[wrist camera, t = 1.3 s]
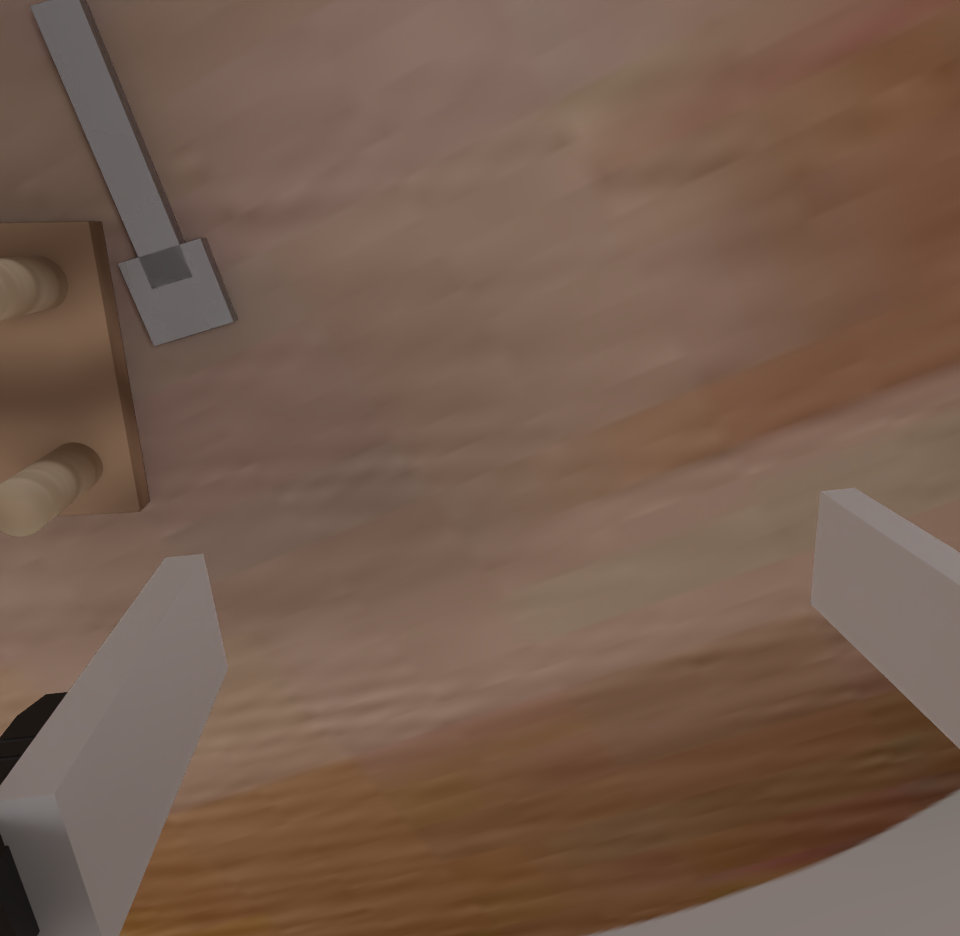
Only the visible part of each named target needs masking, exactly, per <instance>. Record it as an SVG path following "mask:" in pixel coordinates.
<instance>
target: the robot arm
mask: <svg viewBox="0 0 960 936" xmlns="http://www.w3.org/2000/svg"><path fill="white" fill-rule="evenodd" d="M810 604H811V605H812V606H813V607H814V608H815V609H816V610H817V611H818V612H819V613H821V614H822V615H823V616H824V617H825V618H826V619H827V620H828V621H829V622H830V623H831V624H832V625H833V626H834V627H835V628H836V629H837V630H838V631H839V632H840V633H841V634H842V635H843V636H844V637H845V638H846V639H847V640H848V641H849V642H850V643H851V644H852V645H853V646H854V647H855V648H856V649H858V650H859V651H860V652H861V653H862V654H863V655H864V656H865V657H866V658H867V659H868V660H869V661H870V662H871V663H872V664H873V665H874V666H875V667H876V668H877V669H878V670H879V671H880V672H881V673H882V674H883V675H884V676H885V677H886V678H887V679H888V680H889V681H890V682H891V683H892V684H893V685H895V686H896V687H897V688H898V689H899V690H900V691H901V692H902V693H903V694H904V695H905V696H906V697H907V698H908V699H909V700H910V701H911V702H912V703H913V704H914V705H915V706H916V707H917V708H918V709H919V710H920V711H921V712H922V713H923V714H924V715H925V716H926V717H927V718H928V719H929V720H930V721H932V722H933V723H934V724H935V725H936V726H937V727H938V728H939V729H940V730H941V731H942V732H943V733H944V734H945V735H946V736H947V737H948V738H949V739H950V740H951V741H952V742H953V743H954V744H955V745H956V746H957V747H958V748H959V749H960V552H958V551H956V550H955V549H953V548H951V547H950V546H948V545H947V544H945V543H943V542H942V541H940V540H938V539H937V538H935V537H934V536H932V535H930V534H929V533H927V532H925V531H924V530H922V529H921V528H919V527H917V526H916V525H914V524H912V523H911V522H909V521H908V520H906V519H904V518H903V517H901V516H899V515H898V514H896V513H894V512H893V511H891V510H890V509H888V508H886V507H885V506H883V505H881V504H880V503H878V502H877V501H875V500H873V499H872V498H870V497H868V496H867V495H865V494H864V493H862V492H860V491H859V490H857V489H855V488H850V489H840V490H830V491H820V503H819V514H818V525H817V536H816V547H815V559H814V570H813V581H812V592H811V603H810ZM227 669H228V665H227V660H226V656H225V651H224V646H223V642H222V637H221V633H220V628H219V623H218V619H217V614H216V609H215V605H214V600H213V596H212V591H211V586H210V582H209V577H208V573H207V568H206V563H205V559H204V554H195V555H185V556H175V557H165V559H164V560H163V561H162V563H161V564H160V566H159V567H158V568H157V570H156V571H155V573H154V574H153V575H152V577H151V578H150V579H149V581H148V582H147V584H146V585H145V586H144V588H143V589H142V590H141V592H140V593H139V595H138V596H137V597H136V599H135V600H134V602H133V603H132V604H131V606H130V607H129V608H128V610H127V611H126V613H125V614H124V615H123V617H122V618H121V619H120V621H119V622H118V624H117V625H116V626H115V628H114V629H113V631H112V632H111V633H110V635H109V636H108V637H107V639H106V640H105V642H104V643H103V644H102V646H101V647H100V649H99V650H98V651H97V653H96V654H95V655H94V657H93V658H92V660H91V661H90V662H89V664H88V665H87V666H86V668H85V669H84V671H83V672H82V673H81V675H80V676H79V678H78V679H77V680H76V682H75V683H74V684H73V686H72V687H71V689H70V690H69V691H68V692H64V693H55V694H46V695H45V696H43V697H42V698H40V699H39V700H38V701H36V702H35V703H34V704H32V705H31V706H30V707H28V708H27V709H26V710H24V711H23V712H22V713H20V714H19V715H18V716H17V717H16V718H15V719H14V720H13V722H12V723H11V724H10V726H9V727H8V728H7V729H6V731H5V732H4V733H3V734H2V736H1V737H0V936H119V934H120V932H121V929H122V927H123V924H124V922H125V919H126V917H127V914H128V912H129V910H130V907H131V905H132V902H133V900H134V897H135V895H136V892H137V890H138V888H139V885H140V883H141V880H142V878H143V875H144V873H145V870H146V868H147V865H148V863H149V861H150V858H151V856H152V853H153V851H154V848H155V846H156V843H157V841H158V838H159V836H160V834H161V831H162V829H163V826H164V824H165V821H166V819H167V816H168V814H169V812H170V809H171V807H172V804H173V802H174V799H175V797H176V794H177V792H178V789H179V787H180V785H181V782H182V780H183V777H184V775H185V772H186V770H187V767H188V765H189V763H190V760H191V758H192V755H193V753H194V750H195V748H196V745H197V743H198V740H199V738H200V736H201V733H202V731H203V728H204V726H205V723H206V721H207V718H208V716H209V714H210V711H211V709H212V706H213V704H214V701H215V699H216V696H217V694H218V691H219V689H220V687H221V684H222V682H223V679H224V677H225V674H226V672H227Z"/></svg>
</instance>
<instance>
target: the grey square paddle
mask: <svg viewBox="0 0 960 936" xmlns="http://www.w3.org/2000/svg"><path fill="white" fill-rule="evenodd" d="M30 7H31V10H32V12H33V14H34V17H35V19H36V21H37V24H38V26H39V28H40V30H41V33H42V35H43V37H44V40H45V42H46V44H47V47H48V49H49V51H50V54H51V56H52V58H53V61H54V63H55V65H56V68H57V70H58V72H59V75H60V77H61V79H62V82H63V84H64V86H65V88H66V91H67V93H68V95H69V98H70V100H71V102H72V105H73V107H74V109H75V112H76V114H77V116H78V119H79V121H80V123H81V126H82V128H83V130H84V133H85V135H86V137H87V140H88V142H89V144H90V146H91V149H92V151H93V153H94V156H95V158H96V160H97V163H98V165H99V167H100V170H101V172H102V174H103V177H104V179H105V181H106V184H107V186H108V188H109V191H110V193H111V195H112V197H113V200H114V202H115V204H116V207H117V209H118V211H119V214H120V216H121V218H122V221H123V223H124V225H125V228H126V230H127V232H128V235H129V237H130V239H131V242H132V244H133V246H134V249H135V251H136V253H137V255H138V258H135V259H131V260H128V261H125V262H122V263H118V265H119V268H120V270H121V272H122V275H123V277H124V279H125V281H126V284H127V286H128V288H129V290H130V293H131V295H132V297H133V299H134V302H135V304H136V306H137V309H138V311H139V313H140V315H141V318H142V320H143V322H144V324H145V327H146V329H147V331H148V333H149V336H150V338H151V340H152V342H153V345H154V346H157V345H160V344H163V343H167V342H170V341H173V340H176V339H180V338H183V337H186V336H189V335H193V334H196V333H199V332H202V331H206V330H209V329H212V328H215V327H219V326H222V325H225V324H228V323H232V322H234V321H236V320H238V318H237V315H236V313H235V310H234V308H233V305H232V303H231V300H230V298H229V295H228V293H227V290H226V288H225V285H224V283H223V280H222V278H221V275H220V273H219V270H218V268H217V265H216V263H215V260H214V258H213V255H212V252H211V250H210V247H209V245H208V242H207V240H206V238H200V239H197V240H193V241H190V242H187V243H185V241H184V239H183V236H182V234H181V231H180V229H179V226H178V224H177V222H176V219H175V217H174V214H173V212H172V209H171V207H170V204H169V202H168V199H167V197H166V195H165V192H164V190H163V187H162V185H161V182H160V180H159V177H158V175H157V172H156V170H155V168H154V165H153V163H152V160H151V158H150V155H149V153H148V150H147V148H146V145H145V143H144V141H143V138H142V136H141V133H140V131H139V128H138V126H137V123H136V121H135V119H134V116H133V114H132V111H131V109H130V106H129V104H128V101H127V99H126V96H125V94H124V92H123V89H122V87H121V84H120V82H119V79H118V77H117V74H116V72H115V69H114V67H113V65H112V62H111V60H110V57H109V55H108V52H107V50H106V47H105V45H104V42H103V40H102V38H101V35H100V33H99V30H98V28H97V25H96V23H95V20H94V18H93V15H92V13H91V11H90V8H89V6H88V3H87V1H86V0H49V1H45V2H42V3H39V4H35V5H32V6H30Z"/></svg>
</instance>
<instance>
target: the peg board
mask: <svg viewBox="0 0 960 936" xmlns="http://www.w3.org/2000/svg"><path fill="white" fill-rule="evenodd" d="M149 502H150V499H149V493H148V487H147V481H146V475H145V470H144V464H143V458H142V452H141V447H140V441H139V435H138V429H137V423H136V418H135V412H134V406H133V400H132V394H131V389H130V383H129V377H128V371H127V366H126V360H125V354H124V348H123V342H122V337H121V331H120V325H119V319H118V313H117V308H116V302H115V296H114V290H113V285H112V279H111V273H110V267H109V261H108V256H107V250H106V244H105V238H104V232H103V227H102V222H40V223H0V531H1V532H2V533H5V534H7V535H10V536H14V537H26V536H30V535H32V534H34V533H36V532H37V531H39V530H40V529H41V528H42V527H44V526H45V525H46V524H47V523H48V522H50V521H51V520H52V519H53V518H54V517H56V516H67V515H87V514H107V513H127V512H140V511H141V510H142V509H143V508H144V507H145V506H146V505H147V504H148V503H149Z"/></svg>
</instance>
